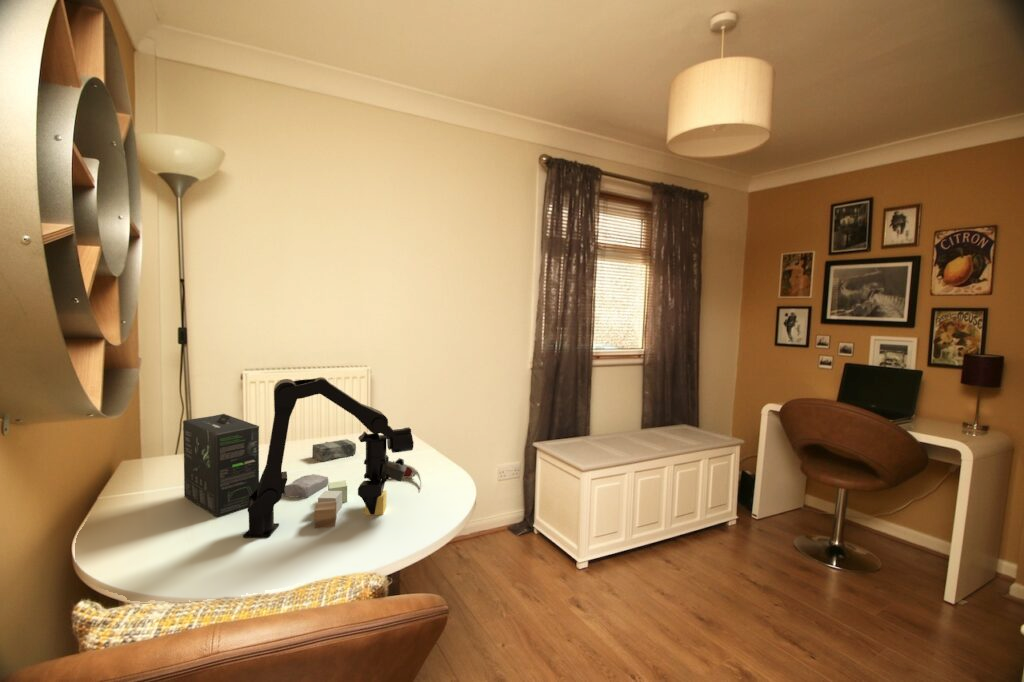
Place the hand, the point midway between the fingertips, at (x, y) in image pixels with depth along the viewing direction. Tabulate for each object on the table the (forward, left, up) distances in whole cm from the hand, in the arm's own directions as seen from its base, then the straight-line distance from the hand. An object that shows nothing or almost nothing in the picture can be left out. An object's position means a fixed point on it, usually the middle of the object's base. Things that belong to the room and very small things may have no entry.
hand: (376, 507), depth 131 cm
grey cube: (+1, +13, -1) cm, 13 cm away
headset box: (+9, +47, -1) cm, 48 cm away
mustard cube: (0, 0, -1) cm, 1 cm away
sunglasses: (+19, -2, -2) cm, 19 cm away
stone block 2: (+50, +25, -2) cm, 56 cm away
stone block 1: (+17, +25, -2) cm, 30 cm away
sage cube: (+8, +13, -1) cm, 15 cm away
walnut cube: (-7, +12, -1) cm, 14 cm away
